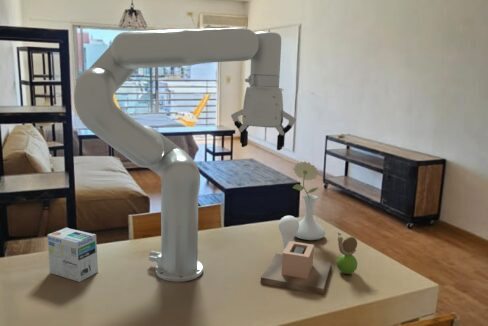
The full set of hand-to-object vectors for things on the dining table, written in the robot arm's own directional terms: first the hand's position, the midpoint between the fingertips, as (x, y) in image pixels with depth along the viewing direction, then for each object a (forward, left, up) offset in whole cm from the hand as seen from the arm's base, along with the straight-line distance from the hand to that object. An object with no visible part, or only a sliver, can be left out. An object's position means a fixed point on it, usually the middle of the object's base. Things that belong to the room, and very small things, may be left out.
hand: (261, 147), depth 116 cm
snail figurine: (+24, +4, -34) cm, 41 cm away
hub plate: (+12, -2, -33) cm, 35 cm away
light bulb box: (-43, -23, -34) cm, 59 cm away
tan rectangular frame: (+12, -2, -32) cm, 34 cm away
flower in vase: (+9, +27, -34) cm, 44 cm away
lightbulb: (+6, +13, -34) cm, 36 cm away
